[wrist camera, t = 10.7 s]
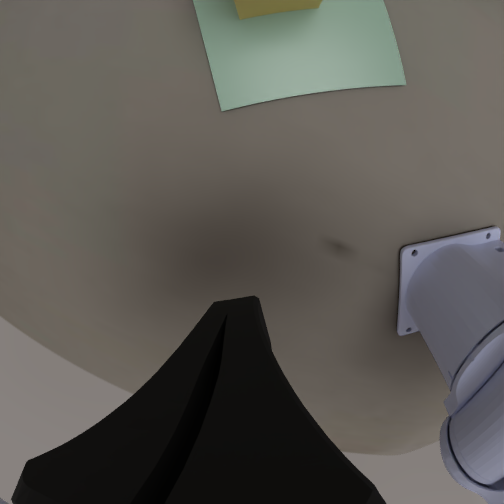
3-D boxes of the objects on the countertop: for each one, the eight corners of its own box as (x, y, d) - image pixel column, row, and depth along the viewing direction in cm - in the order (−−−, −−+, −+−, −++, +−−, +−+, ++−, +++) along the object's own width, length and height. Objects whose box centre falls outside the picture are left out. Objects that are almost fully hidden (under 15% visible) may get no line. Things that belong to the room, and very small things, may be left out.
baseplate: (355, -59, 10) (357, -61, 9) (403, 85, 14) (406, 84, 14) (184, -37, 11) (182, -40, 11) (222, 111, 16) (221, 111, 15)
